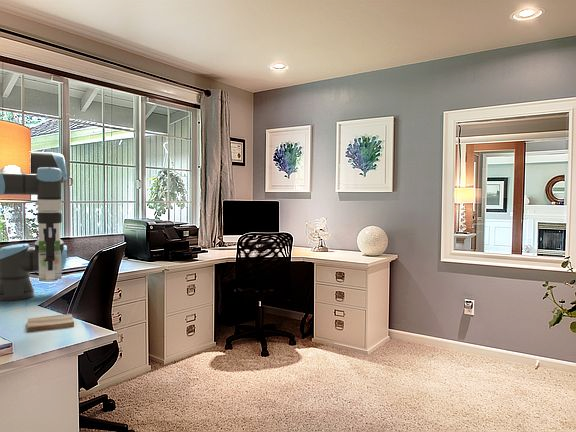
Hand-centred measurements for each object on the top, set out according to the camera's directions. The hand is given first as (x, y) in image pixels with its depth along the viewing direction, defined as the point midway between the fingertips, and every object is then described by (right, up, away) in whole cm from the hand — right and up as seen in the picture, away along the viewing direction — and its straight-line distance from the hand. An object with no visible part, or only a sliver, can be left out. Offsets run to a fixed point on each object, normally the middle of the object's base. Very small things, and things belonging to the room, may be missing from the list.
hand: (50, 278), depth 152 cm
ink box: (0, 0, 0) cm, 0 cm away
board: (0, -16, +1) cm, 16 cm away
